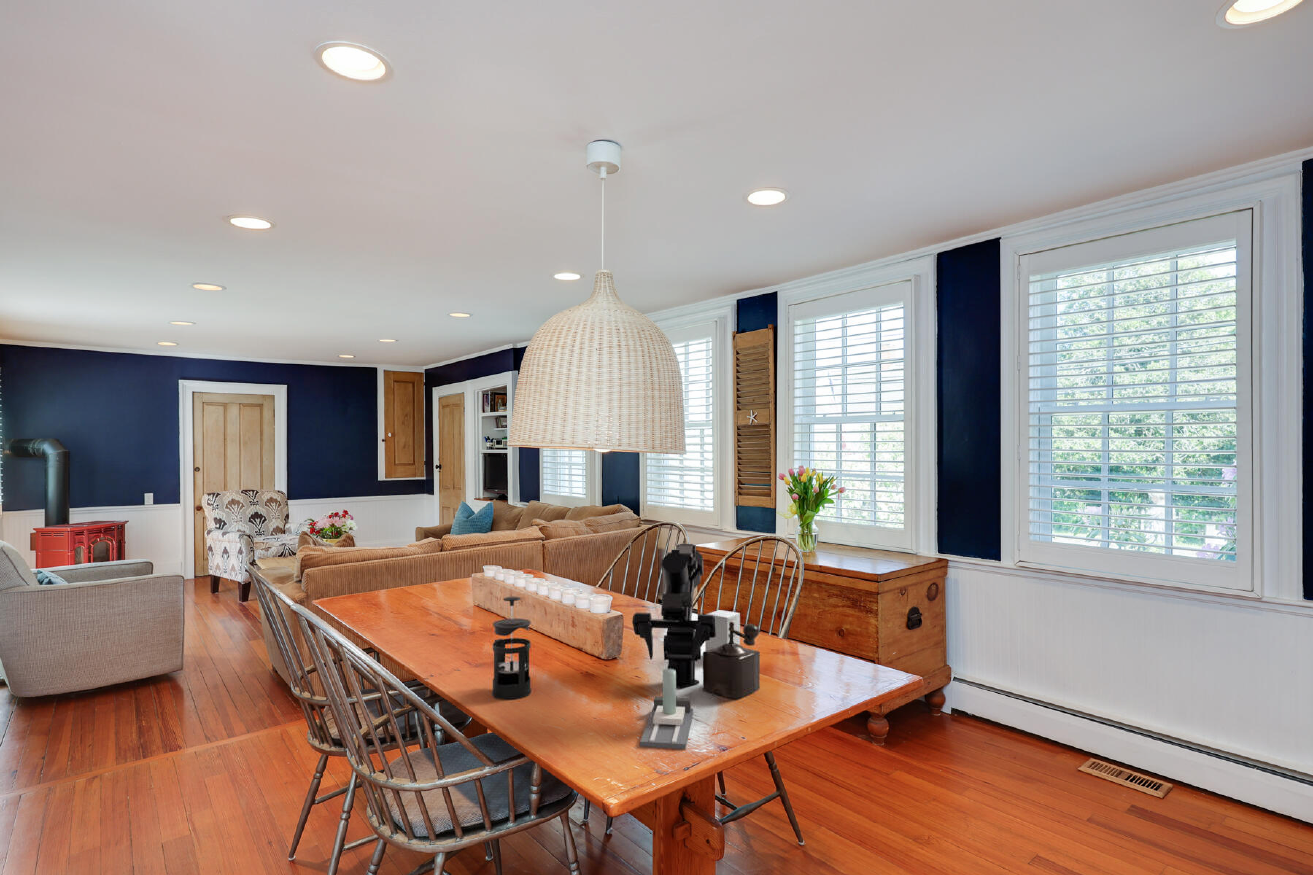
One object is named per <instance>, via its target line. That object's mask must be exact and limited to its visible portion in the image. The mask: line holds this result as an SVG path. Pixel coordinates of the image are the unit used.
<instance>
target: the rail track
mask: <svg viewBox="0 0 1313 875" xmlns="http://www.w3.org/2000/svg"><path fill="white" fill-rule="evenodd" d="M691 700H692V698H691V697H677V696H676V707H685V714H684V718H683V723H682V725H669V724H653V717H654V714H655V711H656V709H657V706H663V696H654V699H653V707H652V709H651V711H650V714H649V717H648V720H647V722H646V725H645V728H644V730H643V733H642V735H641V738H640V741H639V747H641V748H658V749H676V750H686V749H687V744H688V740H689V736H690V730H691V727H692V726H691V725H692V722H693V716H694V708H692V701H691Z"/></svg>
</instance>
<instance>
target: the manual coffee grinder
mask: <svg viewBox="0 0 1313 875" xmlns="http://www.w3.org/2000/svg"><path fill="white" fill-rule="evenodd" d="M729 626H730V627H729V631H730V641H729V643H726V644H723V645H721V646H719V647H716V648H713V649H710V650H707V651H703V653H702V685H703V686H702V692H703V691H704V692H707V693H710V694H713V695H715V696H719V697H724V698H730V699H735V700H739V699H742V698H745V697H748V696H750V695H751V694H750V693H752V694H754V693H756V692H758V691H759V690H760V687H761V686H760V672H761V671H760V669H761V668H760V667H761V666H760V662H761V661H760V660H761V659H760V658H761V656H760V655H761V654H760V653H761V652H760V651H758V650H754V649H750V648H746V647H743V645H741V644H740V645H738V644H736V643H734V641H733V633H734V634H736V635H738V636H740V638H743V643H744V644H745V645H747V646H748V647H749V646H750V647H751V646H755V644H756V641H755V639H756V638H757V637H758V636H759V635H760V628H759V627H758V626H757V625H755V623H754V624H753V623H748V624H746V625H744V626H743V629H742V631H743V632H741V631H740V632H738V631H736V630H735V629H734V622H730V623H729ZM758 689H759V690H758ZM755 691H756V692H755ZM753 692H754V693H753ZM749 694H750V695H749ZM747 695H748V696H747Z"/></svg>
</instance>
